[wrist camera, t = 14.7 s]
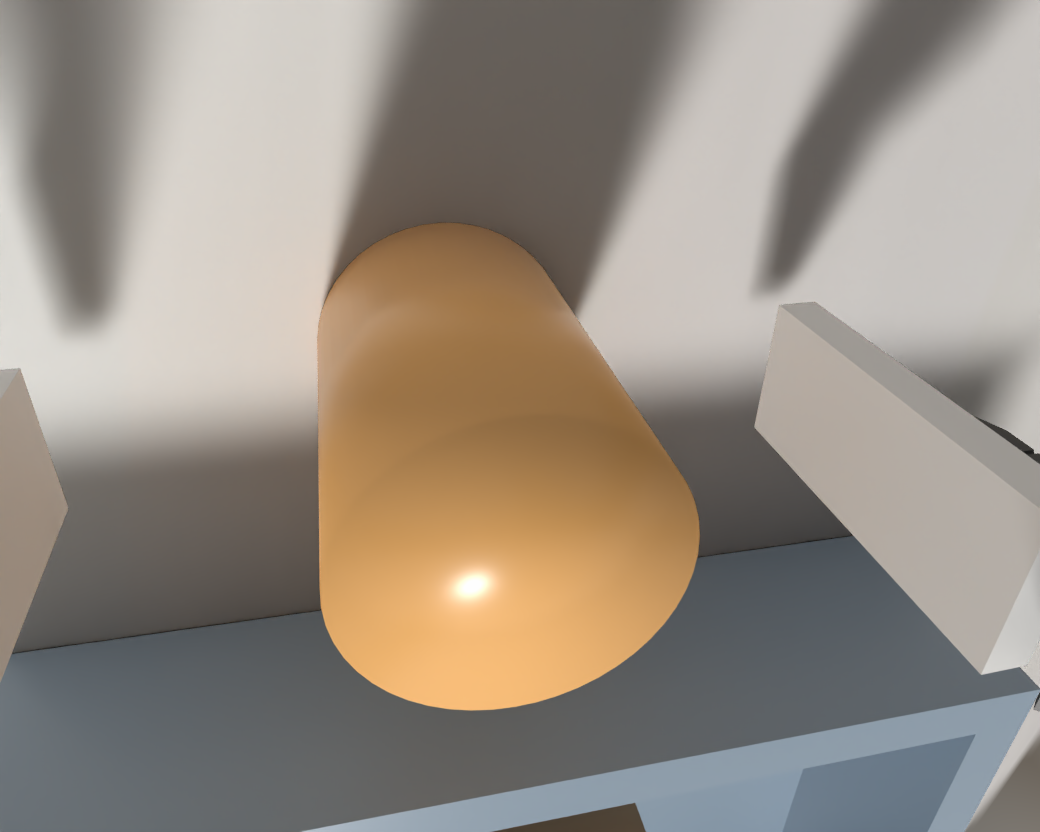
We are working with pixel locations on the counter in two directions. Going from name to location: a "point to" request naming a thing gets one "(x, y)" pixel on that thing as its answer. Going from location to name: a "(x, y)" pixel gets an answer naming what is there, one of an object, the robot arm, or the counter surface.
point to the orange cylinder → (484, 480)
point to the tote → (530, 724)
